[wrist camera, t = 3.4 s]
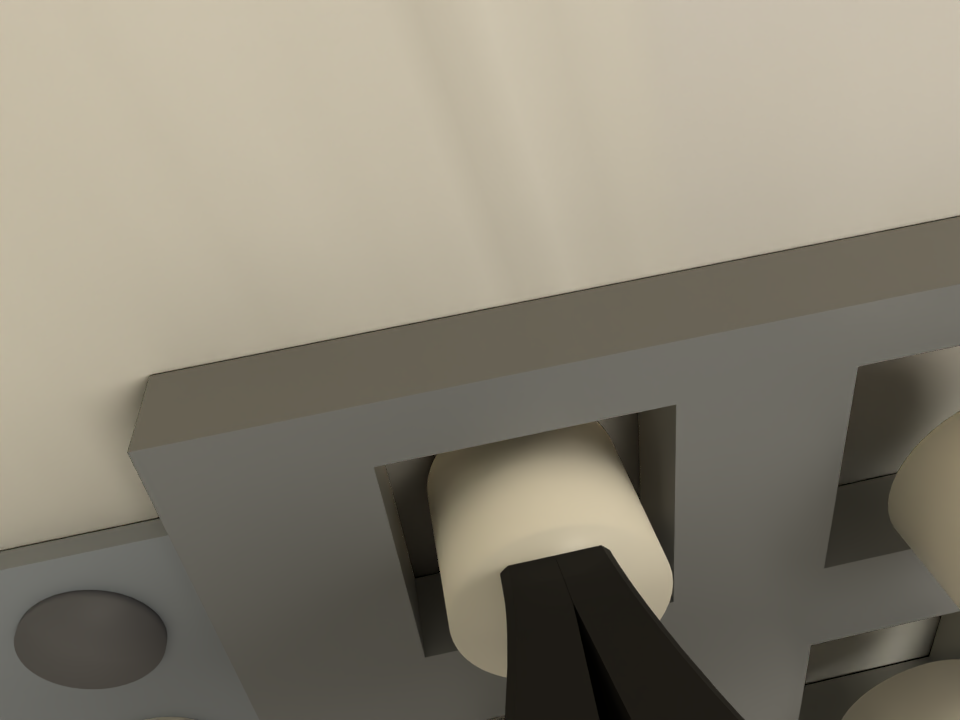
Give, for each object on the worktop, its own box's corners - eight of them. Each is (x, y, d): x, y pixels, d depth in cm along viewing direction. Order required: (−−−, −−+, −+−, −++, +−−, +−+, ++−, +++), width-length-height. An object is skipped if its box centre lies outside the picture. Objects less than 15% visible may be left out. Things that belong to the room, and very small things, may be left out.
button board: (1245, 160, 12) (1358, 203, 11) (1033, 656, 19) (1087, 719, 18) (149, 376, 11) (127, 452, 10) (345, 818, 18) (347, 898, 17)
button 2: (613, 384, 12) (673, 501, 10) (618, 526, 14) (671, 652, 12) (411, 425, 12) (432, 553, 10) (442, 564, 14) (465, 699, 12)
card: (172, 515, 12) (168, 542, 12) (291, 762, 16) (290, 790, 16) (-309, 616, 12) (-334, 647, 12) (-67, 845, 16) (-79, 875, 16)
